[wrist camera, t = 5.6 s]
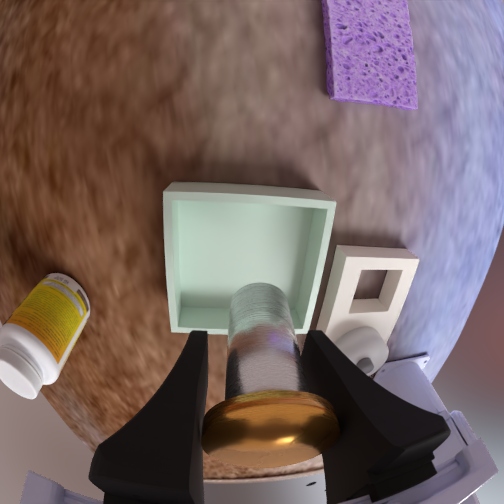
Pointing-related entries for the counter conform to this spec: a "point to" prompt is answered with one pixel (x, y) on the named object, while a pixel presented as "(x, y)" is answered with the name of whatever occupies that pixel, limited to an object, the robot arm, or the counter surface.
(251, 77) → the counter surface
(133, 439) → the robot arm
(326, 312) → the block
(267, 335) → the pin
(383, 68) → the sponges
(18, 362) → the supplement bottle
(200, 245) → the tray
